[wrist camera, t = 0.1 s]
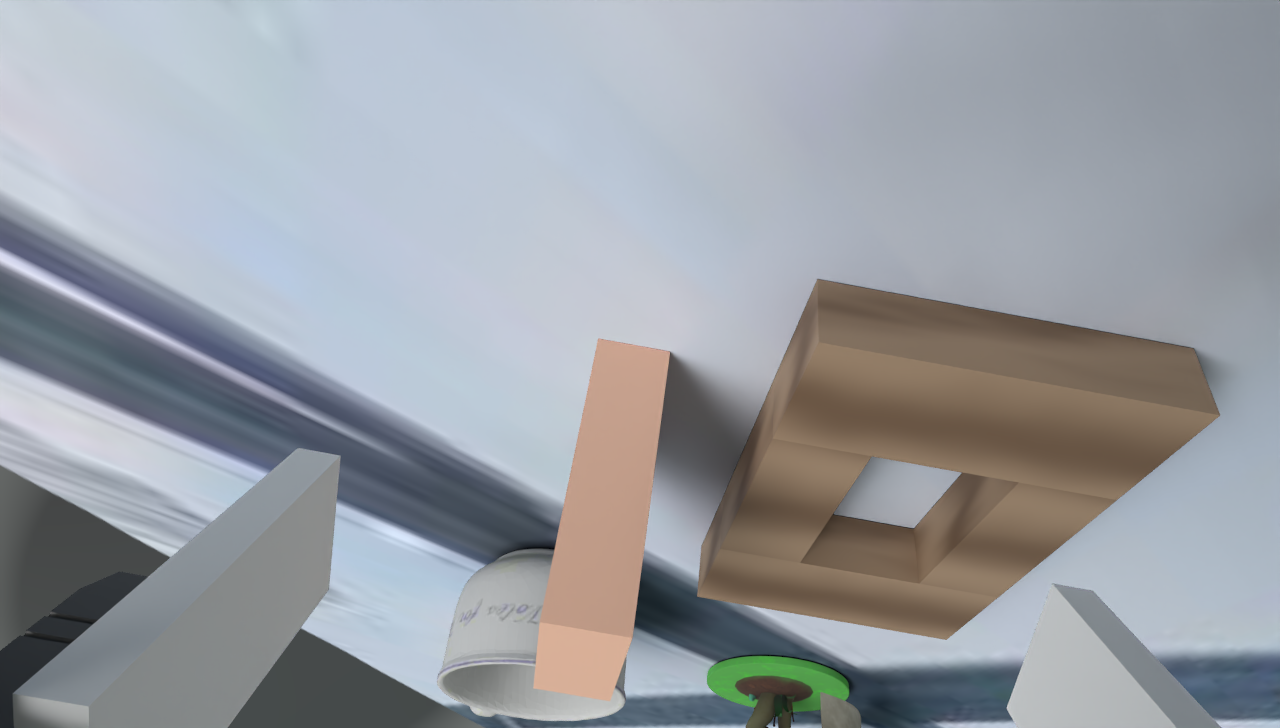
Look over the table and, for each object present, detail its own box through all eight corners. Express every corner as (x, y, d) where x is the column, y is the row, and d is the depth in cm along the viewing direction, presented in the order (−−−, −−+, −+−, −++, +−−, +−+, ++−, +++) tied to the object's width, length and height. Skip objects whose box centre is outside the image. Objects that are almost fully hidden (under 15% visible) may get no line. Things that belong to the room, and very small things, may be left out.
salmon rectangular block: (598, 338, 33) (539, 621, 26) (670, 351, 33) (632, 638, 26) (585, 431, 39) (533, 688, 31) (646, 443, 39) (609, 701, 31)
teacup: (539, 510, 46) (507, 652, 41) (676, 582, 51) (662, 716, 46) (414, 570, 54) (375, 692, 49) (541, 626, 59) (518, 742, 54)
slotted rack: (817, 279, 29) (818, 342, 27) (1193, 348, 30) (1220, 415, 28) (701, 546, 46) (697, 596, 45) (940, 588, 47) (946, 639, 45)
